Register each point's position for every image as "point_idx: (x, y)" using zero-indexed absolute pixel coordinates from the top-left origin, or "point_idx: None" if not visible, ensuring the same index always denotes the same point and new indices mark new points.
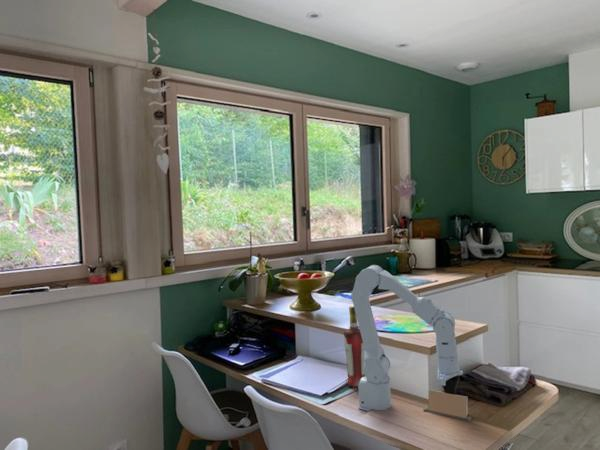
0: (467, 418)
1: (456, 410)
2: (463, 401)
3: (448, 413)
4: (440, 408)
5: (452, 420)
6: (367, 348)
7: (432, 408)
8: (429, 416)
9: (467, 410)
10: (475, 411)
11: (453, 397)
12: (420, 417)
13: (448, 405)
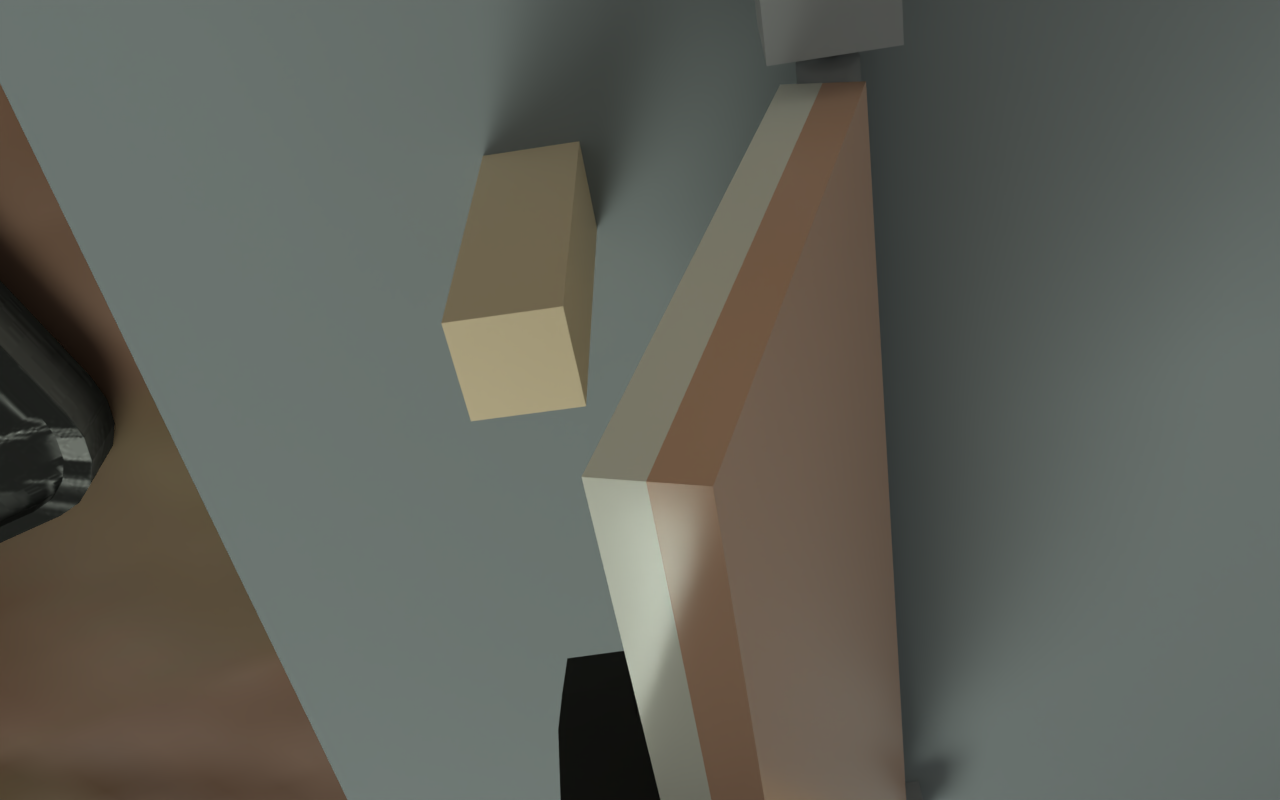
0: (897, 30)
1: (860, 418)
2: (775, 452)
3: (889, 506)
4: (886, 706)
5: None
6: None
7: (895, 795)
8: None
9: (500, 222)
10: (4, 133)
11: (793, 776)
12: None
13: (854, 657)
